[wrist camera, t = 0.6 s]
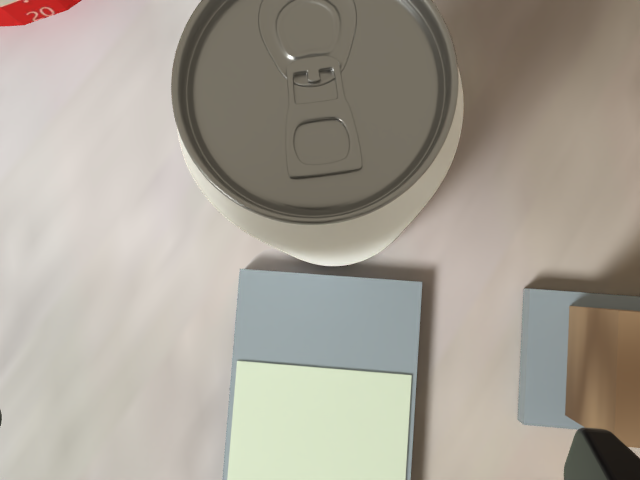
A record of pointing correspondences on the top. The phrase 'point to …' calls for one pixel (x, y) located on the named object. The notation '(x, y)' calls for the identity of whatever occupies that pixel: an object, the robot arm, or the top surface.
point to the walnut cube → (604, 371)
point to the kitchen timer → (31, 10)
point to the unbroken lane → (322, 378)
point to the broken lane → (552, 351)
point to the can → (318, 118)
